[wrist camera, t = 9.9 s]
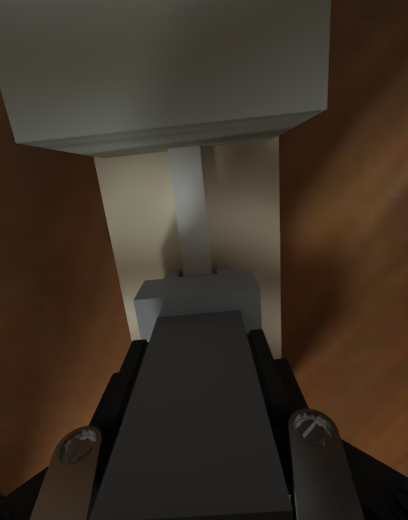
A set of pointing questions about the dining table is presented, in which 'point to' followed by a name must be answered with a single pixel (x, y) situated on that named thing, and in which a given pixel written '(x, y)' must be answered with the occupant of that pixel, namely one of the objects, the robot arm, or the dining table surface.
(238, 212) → the grey block assembly
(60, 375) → the dining table surface
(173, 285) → the block
